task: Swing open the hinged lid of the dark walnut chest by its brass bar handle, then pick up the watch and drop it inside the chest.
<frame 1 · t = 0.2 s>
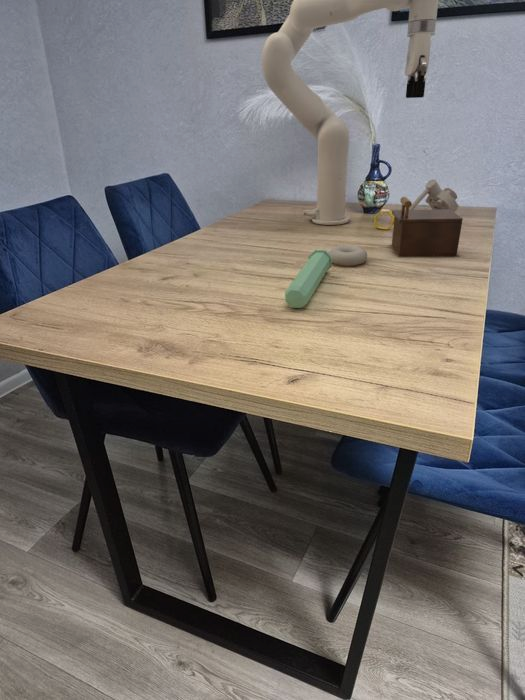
hand: (414, 97, 142), 37 cm above the table, tool pointing down, fingers open, 9 cm apart
valve: (426, 220, 159), on the table
donut: (346, 262, 121), on the table
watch: (383, 229, 150), on the table
lid: (426, 207, 122), point 11 cm above the table, hinge at 0.0°
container: (308, 290, 104), on the table
chest: (422, 250, 127), on the table
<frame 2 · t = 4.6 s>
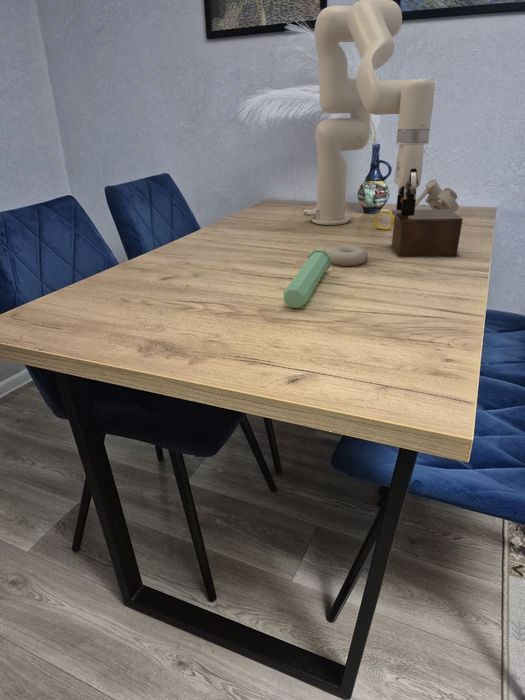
hand: (404, 212, 123), 10 cm above the table, tool pointing down, fingers closed on lid, 6 cm apart
lid: (426, 207, 122), point 11 cm above the table, hinge at 0.0°, touching gripper
everything else where it was.
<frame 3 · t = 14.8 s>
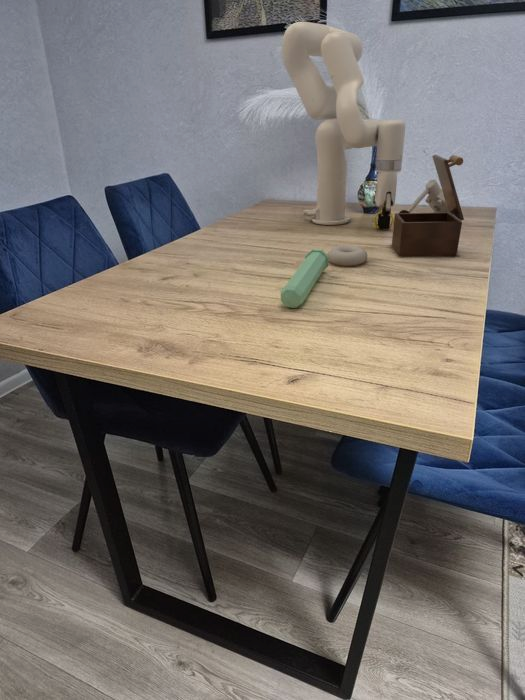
hand: (383, 227, 149), 1 cm above the table, tool pointing down, fingers closed on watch, 2 cm apart
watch: (383, 229, 149), on the table, touching gripper
lid: (455, 183, 119), point 17 cm above the table, hinge at 66.4°
everything else where it was.
when the fingers open (8 cm above the table, at t = 21.7 s): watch drops 3 cm, resting on chest.
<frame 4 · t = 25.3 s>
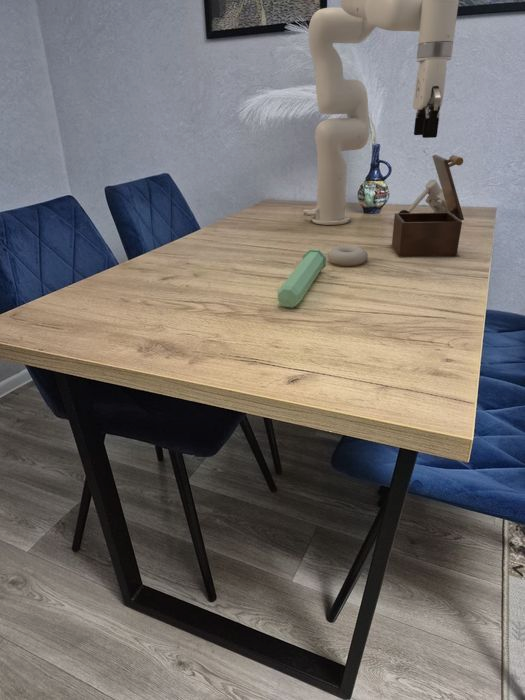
hand: (424, 136, 114), 28 cm above the table, tool pointing down, fingers open, 9 cm apart
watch: (422, 234, 127), point 4 cm above the table, touching chest
at the end: lid at +66° (first picture: +0°); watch inside the target area in the chest (1.7 cm from its centre), point 4.0 cm above the chest's base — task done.
